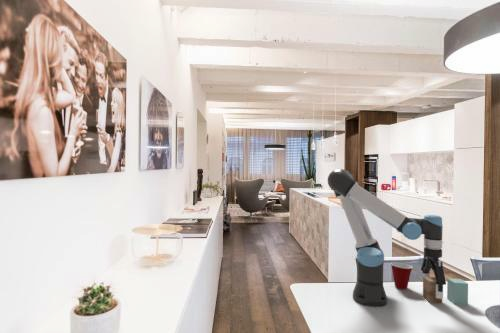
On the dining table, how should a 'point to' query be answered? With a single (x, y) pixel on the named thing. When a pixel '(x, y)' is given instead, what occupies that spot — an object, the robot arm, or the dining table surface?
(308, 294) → the dining table surface
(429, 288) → the walnut block
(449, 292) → the teal block
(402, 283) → the plastic cup
